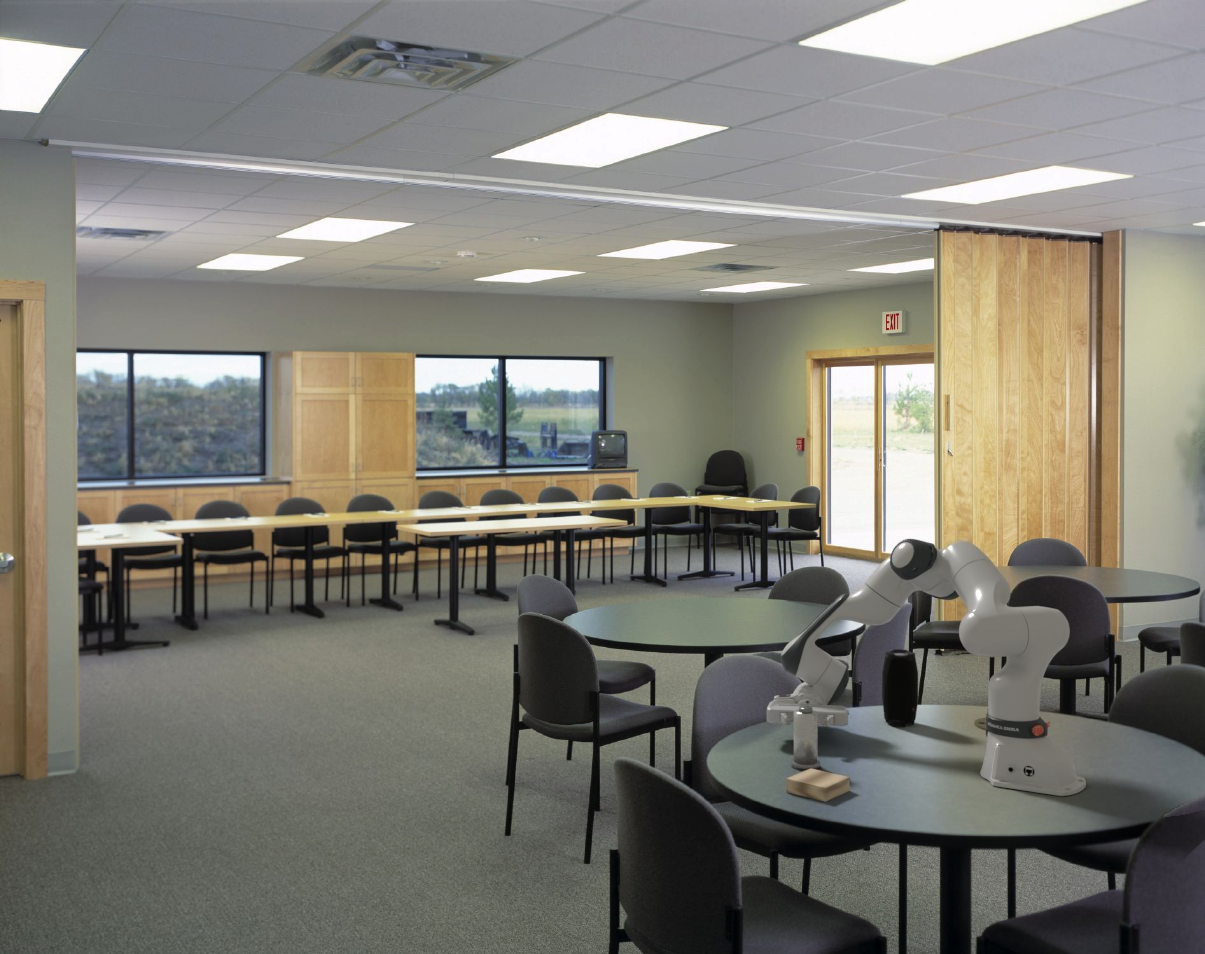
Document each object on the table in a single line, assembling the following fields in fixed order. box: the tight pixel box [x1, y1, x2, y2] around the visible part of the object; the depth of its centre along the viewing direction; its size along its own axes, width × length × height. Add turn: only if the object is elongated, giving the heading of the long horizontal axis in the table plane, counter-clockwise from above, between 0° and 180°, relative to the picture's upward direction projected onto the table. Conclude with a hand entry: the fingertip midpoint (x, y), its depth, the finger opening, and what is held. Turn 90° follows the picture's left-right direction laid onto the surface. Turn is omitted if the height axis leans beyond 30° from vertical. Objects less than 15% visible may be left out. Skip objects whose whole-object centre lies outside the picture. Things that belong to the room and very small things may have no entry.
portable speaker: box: [881, 648, 919, 728], centre depth 309 cm, size 9×9×20 cm
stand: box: [785, 768, 851, 803], centre depth 253 cm, size 10×10×3 cm
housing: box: [791, 706, 821, 772], centre depth 271 cm, size 7×7×14 cm
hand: (806, 722), depth 283 cm, fingers open, 8 cm apart
